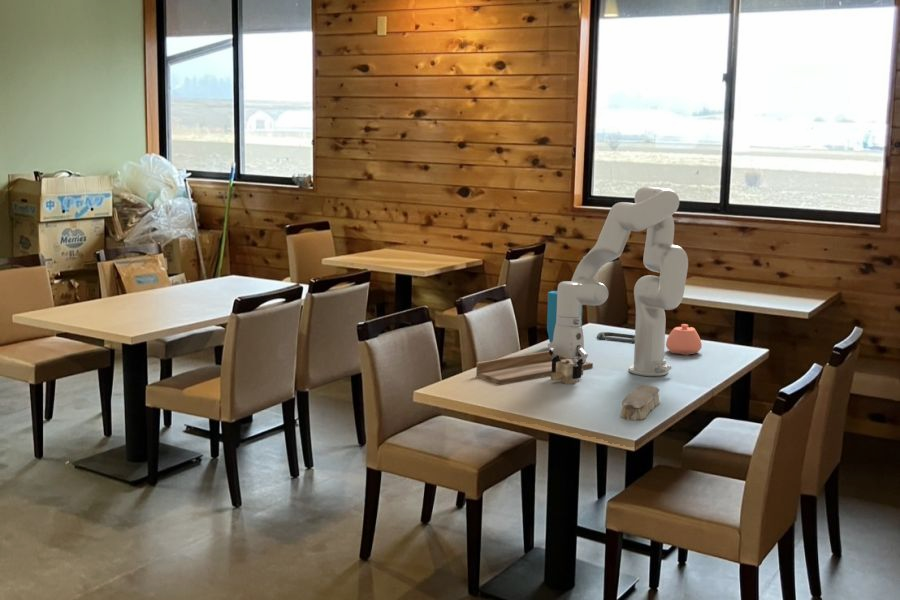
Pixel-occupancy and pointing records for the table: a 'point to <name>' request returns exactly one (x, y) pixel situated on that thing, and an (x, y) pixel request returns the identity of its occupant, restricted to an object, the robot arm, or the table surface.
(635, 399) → the beige mottled oblong part
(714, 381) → the table surface
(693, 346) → the sugar bowl
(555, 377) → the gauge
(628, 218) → the robot arm
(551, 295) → the block
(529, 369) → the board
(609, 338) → the c clamp
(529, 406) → the table surface
